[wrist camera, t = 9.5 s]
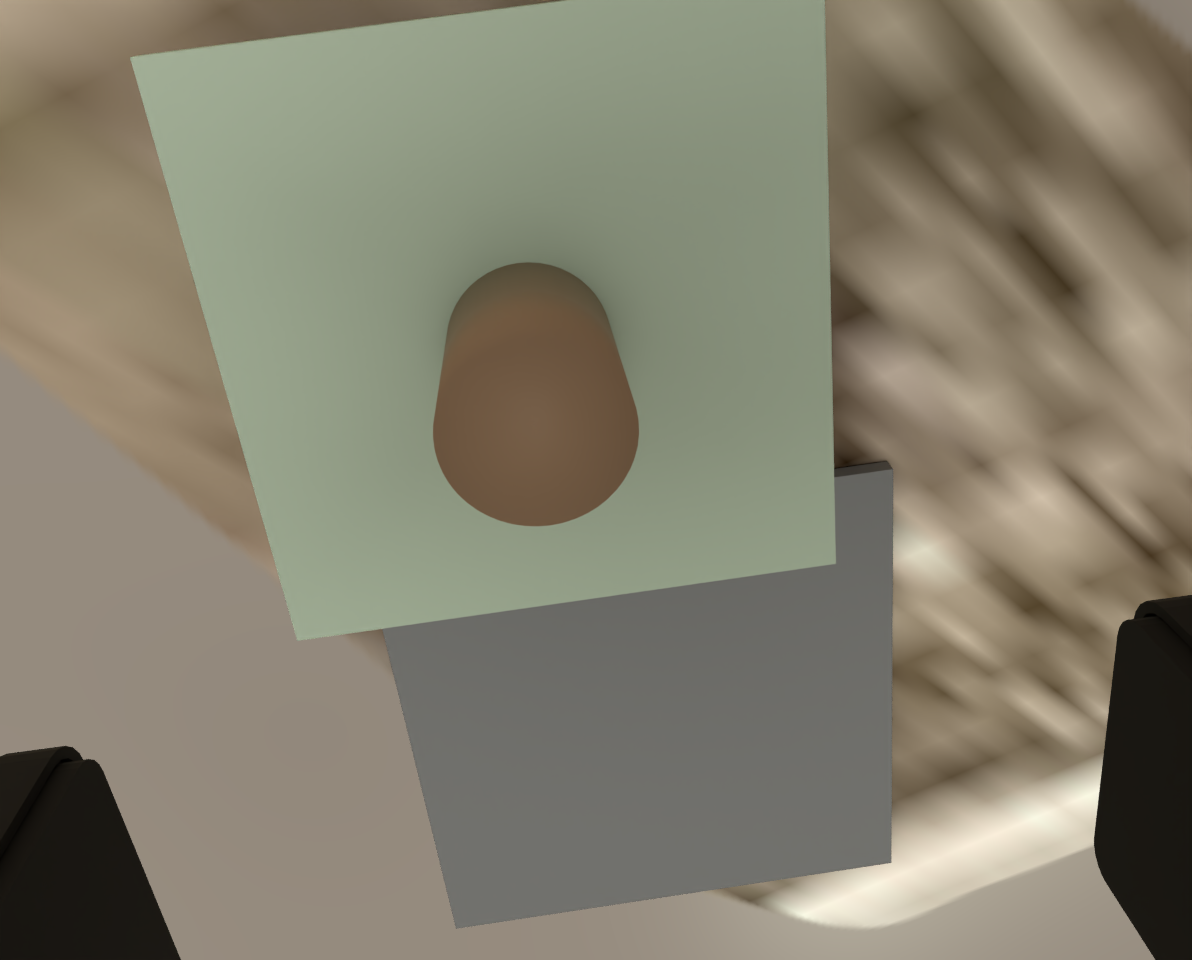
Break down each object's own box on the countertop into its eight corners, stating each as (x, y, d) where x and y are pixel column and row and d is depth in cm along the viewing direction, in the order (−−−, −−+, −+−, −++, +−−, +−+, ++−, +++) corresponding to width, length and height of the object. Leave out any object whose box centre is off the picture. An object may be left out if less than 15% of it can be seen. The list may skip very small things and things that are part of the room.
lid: (812, -33, 21) (919, -37, 15) (826, 547, 26) (908, 689, 21) (143, 54, 20) (18, 80, 15) (302, 622, 26) (252, 784, 21)
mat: (887, 461, 34) (893, 469, 34) (886, 851, 42) (891, 862, 41) (364, 535, 34) (361, 545, 33) (456, 916, 41) (456, 928, 41)
